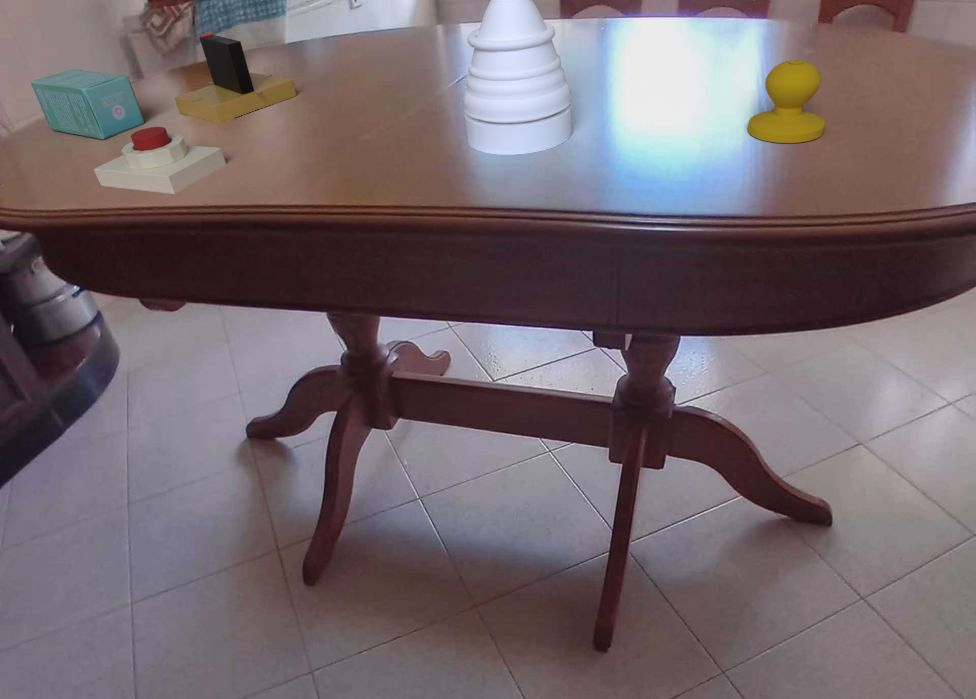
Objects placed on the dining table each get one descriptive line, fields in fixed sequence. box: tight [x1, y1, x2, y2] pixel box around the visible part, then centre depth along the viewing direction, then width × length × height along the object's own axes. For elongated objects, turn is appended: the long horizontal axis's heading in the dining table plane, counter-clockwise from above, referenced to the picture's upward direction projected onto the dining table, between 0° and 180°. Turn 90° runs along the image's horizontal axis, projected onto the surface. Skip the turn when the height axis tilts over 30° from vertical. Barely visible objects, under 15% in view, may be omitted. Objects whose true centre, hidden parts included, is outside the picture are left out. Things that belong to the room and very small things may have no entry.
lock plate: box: [173, 72, 297, 124], centre depth 108 cm, size 14×14×3 cm
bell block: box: [93, 132, 227, 195], centre depth 85 cm, size 12×9×4 cm
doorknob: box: [747, 59, 826, 144], centre depth 77 cm, size 8×8×8 cm
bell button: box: [130, 126, 171, 151], centre depth 83 cm, size 4×4×2 cm
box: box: [30, 68, 145, 141], centre depth 103 cm, size 7×14×8 cm, turn 59°
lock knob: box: [199, 32, 254, 95], centre depth 105 cm, size 10×2×7 cm, turn 42°
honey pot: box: [462, 0, 573, 156], centre depth 81 cm, size 13×13×18 cm
